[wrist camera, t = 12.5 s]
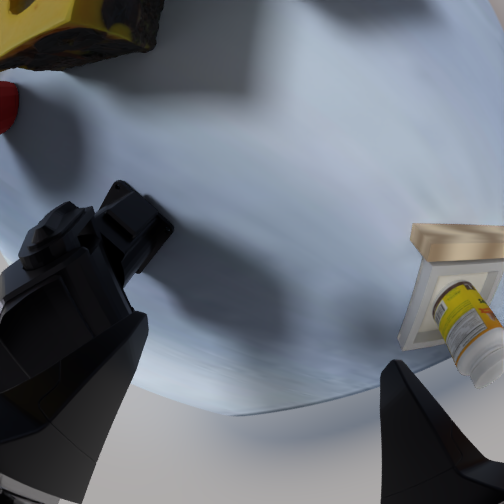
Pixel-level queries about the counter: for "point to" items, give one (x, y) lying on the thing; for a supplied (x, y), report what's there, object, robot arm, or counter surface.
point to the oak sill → (458, 241)
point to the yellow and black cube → (74, 31)
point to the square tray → (428, 287)
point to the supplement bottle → (470, 332)
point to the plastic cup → (8, 105)
